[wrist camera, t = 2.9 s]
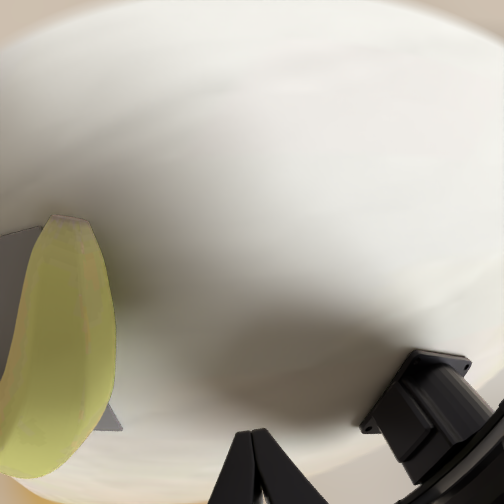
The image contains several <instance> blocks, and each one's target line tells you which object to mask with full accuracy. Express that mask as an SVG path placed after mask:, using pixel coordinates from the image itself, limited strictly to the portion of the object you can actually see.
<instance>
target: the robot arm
mask: <svg viewBox="0 0 504 504" xmlns="http://www.w3.org/2000/svg"><path fill="white" fill-rule="evenodd" d="M471 364H472V362H471V361H470V360H469V359H468V358H464V357H457V356H451V355H445V354H438V353H432V352H427V351H421V350H415V351H413V352H412V353H411V354H410V355H409V356H408V357H407V359H406V361H405V362H404V364H403V365H402V367H401V369H400V370H399V372H398V373H397V375H396V376H395V378H394V379H393V381H392V382H391V384H390V385H389V387H388V388H387V390H386V391H385V392H384V394H383V395H382V397H381V398H380V399H379V401H378V402H377V404H376V405H375V406H374V408H373V409H372V410H371V412H370V413H369V414H368V416H367V417H366V418H365V420H364V421H363V422H362V423H361V425H360V427H359V428H360V430H361V432H362V433H363V434H382V435H383V436H384V438H385V440H386V442H387V444H388V445H389V447H390V449H391V451H392V453H393V454H394V456H395V458H396V460H397V461H398V462H399V463H402V465H403V467H404V468H405V470H406V472H407V474H408V476H409V478H410V479H411V481H412V483H413V485H418V484H420V486H419V487H418V488H417V489H415V490H414V491H413V492H412V493H410V494H409V495H407V496H406V497H405V498H403V499H402V500H399V501H397V502H396V503H395V504H504V399H503V400H502V401H501V403H500V404H499V408H498V409H497V410H496V411H494V410H493V409H492V408H491V407H490V406H489V405H488V404H487V403H486V401H485V400H484V399H483V398H482V397H481V396H480V395H479V394H478V393H477V392H476V391H475V390H474V389H473V388H472V386H471V385H470V384H469V383H468V382H467V381H466V380H465V379H464V376H465V375H466V373H467V371H468V370H469V368H470V367H471ZM262 490H263V493H262ZM263 494H264V497H265V501H266V503H267V504H328V502H327V501H326V500H325V499H324V498H323V497H322V496H321V495H320V494H319V492H318V491H317V490H316V489H315V488H314V487H313V486H312V484H311V483H310V482H309V481H308V480H307V479H306V477H305V476H304V475H303V474H302V473H301V471H300V470H299V469H298V468H297V467H296V465H295V464H294V463H293V462H292V461H291V459H290V458H289V457H288V456H287V454H286V453H285V452H284V451H283V449H282V448H281V447H280V446H279V444H278V443H277V442H276V441H275V439H274V438H273V437H272V436H271V434H270V433H269V432H268V430H267V429H265V428H260V429H254V430H252V431H249V430H247V431H240V432H237V433H236V434H235V436H234V439H233V442H232V444H231V447H230V449H229V452H228V454H227V457H226V460H225V462H224V465H223V467H222V470H221V472H220V474H219V477H218V479H217V482H216V484H215V487H214V489H213V492H212V494H211V496H210V499H209V501H208V503H207V504H263Z"/></svg>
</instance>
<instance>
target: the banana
mask: <svg viewBox="0 0 504 504" xmlns="http://www.w3.org/2000/svg"><path fill="white" fill-rule="evenodd" d="M115 357H116V324H115V314H114V308H113V302H112V296H111V291H110V286H109V281H108V276H107V270H106V266H105V262H104V259H103V256H102V253H101V250H100V248H99V245H98V243H97V240H96V238H95V235H94V233H93V231H92V228H91V226H90V223H89V221H87V220H84V219H79V218H75V217H69V216H63V215H51V216H50V218H49V220H48V221H47V223H46V225H45V227H44V228H43V230H42V232H41V234H40V235H39V237H38V239H37V241H36V243H35V245H34V248H33V250H32V253H31V256H30V259H29V263H28V267H27V271H26V275H25V279H24V284H23V289H22V294H21V299H20V304H19V309H18V314H17V319H16V324H15V330H14V335H13V339H12V343H11V347H10V351H9V355H8V359H7V364H6V367H5V371H4V374H3V376H2V379H1V381H0V473H3V474H6V475H9V476H13V477H17V478H24V479H30V478H38V477H42V476H44V475H46V474H49V473H51V472H53V471H54V470H56V469H57V468H59V467H60V466H61V465H62V464H64V463H65V462H66V461H67V460H68V459H69V458H70V457H71V456H72V454H73V453H74V452H75V451H76V450H77V449H78V448H79V447H80V446H81V444H82V443H83V442H84V441H85V439H86V438H87V437H88V436H89V435H90V433H91V432H92V431H93V429H94V428H95V426H96V425H97V423H98V422H99V420H100V419H101V417H102V415H103V413H104V411H105V409H106V406H107V404H108V402H109V399H110V397H111V393H112V390H113V386H114V377H115Z"/></svg>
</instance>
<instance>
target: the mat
mask: <svg viewBox="0 0 504 504" xmlns="http://www.w3.org/2000/svg"><path fill="white" fill-rule="evenodd" d="M41 232H42V228H41V226H38V227H34V228H30V229H26V230H23V231H19V232H15V233H12V234H8V235H4V236H1V237H0V381H1V379H2V376H3V374H4V371H5V367H6V364H7V359H8V355H9V351H10V347H11V343H12V339H13V335H14V330H15V324H16V319H17V314H18V309H19V304H20V299H21V294H22V289H23V284H24V279H25V275H26V271H27V267H28V263H29V259H30V256H31V253H32V250H33V248H34V245H35V243H36V241H37V239H38V237H39V235H40V234H41ZM93 430H99V431H122V430H123V428H122V427H121V425H120V423H119V421H118V420H117V418H116V416H115V414H114V413H113V411H112V409H111V407H110V405H109V404H107V406H106V409H105V411H104V413H103V415H102V417H101V419H100V420H99V422H98V423H97V425H96V426H95V428H94V429H93Z"/></svg>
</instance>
